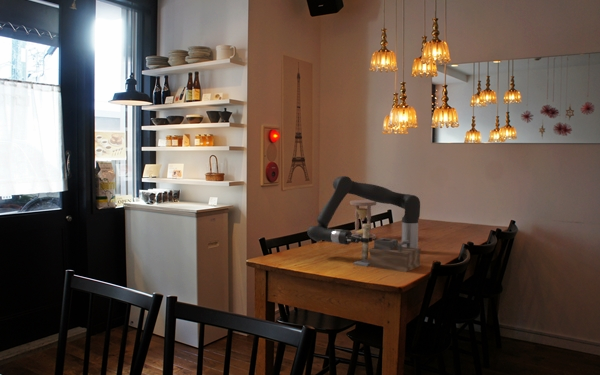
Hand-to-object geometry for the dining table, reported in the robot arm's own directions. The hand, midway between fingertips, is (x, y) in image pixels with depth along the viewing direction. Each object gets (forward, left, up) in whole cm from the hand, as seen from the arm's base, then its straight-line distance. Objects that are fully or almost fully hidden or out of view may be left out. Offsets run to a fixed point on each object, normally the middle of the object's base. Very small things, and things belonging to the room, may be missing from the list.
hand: (369, 240), depth 266 cm
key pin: (0, -3, -10) cm, 10 cm away
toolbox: (-4, +12, -13) cm, 18 cm away
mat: (0, -3, -13) cm, 13 cm away
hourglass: (-69, -43, -13) cm, 82 cm away
